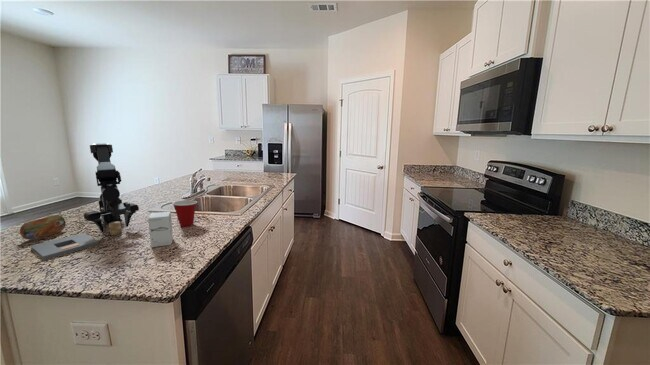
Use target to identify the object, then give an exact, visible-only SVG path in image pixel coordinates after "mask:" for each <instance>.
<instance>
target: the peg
mask: <svg viewBox="0 0 650 365" xmlns="http://www.w3.org/2000/svg"><path fill="white" fill-rule="evenodd" d="M108 228H109V233H110V236H117V235H120V234H122V226H121V221H118V222H111V223H109V224H108Z"/></svg>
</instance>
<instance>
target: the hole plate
mask: <svg viewBox="0 0 650 365" xmlns="http://www.w3.org/2000/svg"><path fill="white" fill-rule="evenodd" d="M99 245H100V243H99V241H98V240H97V239H96V238H93V237H92V236H90V235H88V234H87V233H84V232H81V233H78V234H73V235H69V236H65V237H61V238H58V239H52V240H49V241H45V242H41V243H37V244H34V245H33V244H32V245H30V249H31V251H32V252H34V253H35V254H36V255H37V256H38V257H39V258H40V259H42V260H43V261H46V260H47V261H48V260H50V259H53V258H56V257H57V258H58V257H60V256H64V255H67V254H70V253H74V252H77V251H81V250H84V249H87V248H92V247H95V246H99Z"/></svg>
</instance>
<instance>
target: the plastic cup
mask: <svg viewBox="0 0 650 365" xmlns="http://www.w3.org/2000/svg"><path fill="white" fill-rule="evenodd" d="M197 203H198V201H196V200H179V201H173V202H172V205H173V207H174V210H175V214H176V217H177V221H178V223H179V226H180V227H181V228H182V227H184V228H186V227H191V226H194V220H195V214H196V213H195V212H196V211H195V210H196V206H197Z"/></svg>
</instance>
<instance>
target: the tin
mask: <svg viewBox="0 0 650 365" xmlns="http://www.w3.org/2000/svg"><path fill="white" fill-rule="evenodd" d="M66 224H67V222H66V220H65V218H64V217H63V216H62V215H57V214H56V215H54V214H53V215H46V216H43V217H40V218H36V219H33V220H29V221H26V222H25V223H23V224H22V225H21V226H20V229H19V234H20V236H21V237H22V238H23V239H25V240H29V241H37V240H41V239H44V238H47V237H50V236H52V235H56V234H58V233H61V232H62V231H63V230H64V229H65V227H66Z"/></svg>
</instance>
